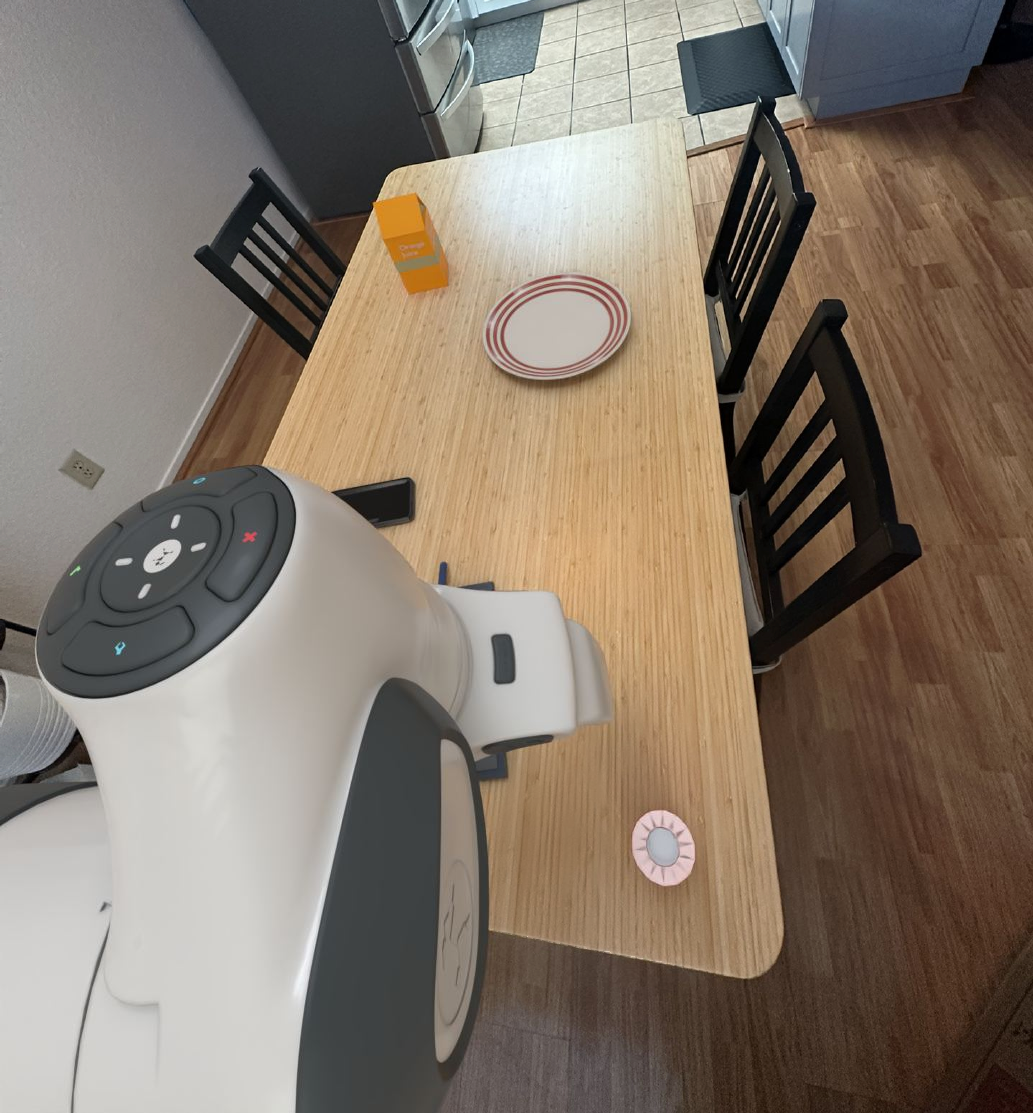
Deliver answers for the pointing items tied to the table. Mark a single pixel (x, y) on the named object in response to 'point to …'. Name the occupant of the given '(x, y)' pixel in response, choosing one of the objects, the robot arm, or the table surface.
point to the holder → (663, 847)
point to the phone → (382, 501)
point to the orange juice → (412, 242)
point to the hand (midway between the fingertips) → (468, 724)
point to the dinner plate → (556, 326)
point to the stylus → (442, 573)
